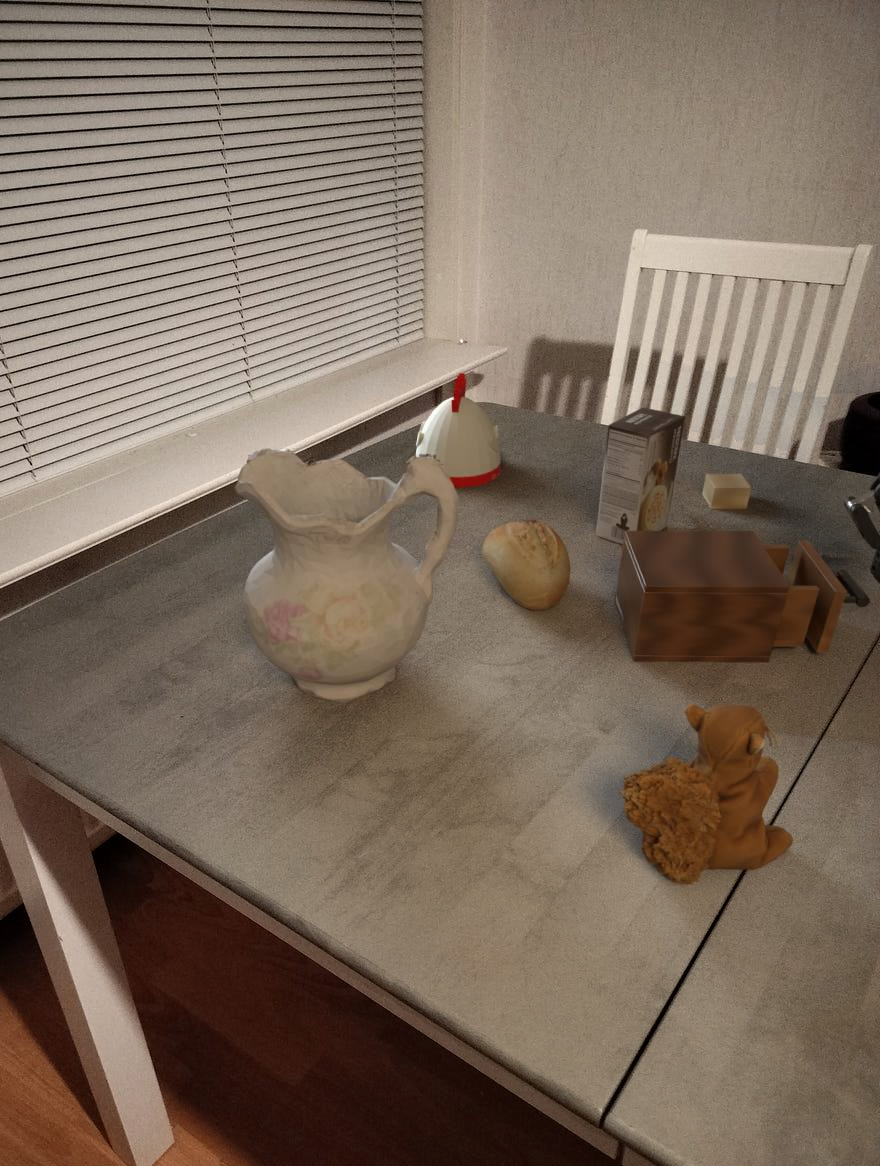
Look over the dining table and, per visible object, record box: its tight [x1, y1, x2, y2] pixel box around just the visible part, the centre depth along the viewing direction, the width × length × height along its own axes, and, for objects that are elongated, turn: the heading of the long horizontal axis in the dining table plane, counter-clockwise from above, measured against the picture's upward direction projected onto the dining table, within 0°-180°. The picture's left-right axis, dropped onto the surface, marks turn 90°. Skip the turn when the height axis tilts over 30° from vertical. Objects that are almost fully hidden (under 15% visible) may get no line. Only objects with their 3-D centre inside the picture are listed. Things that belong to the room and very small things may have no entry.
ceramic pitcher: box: [234, 447, 459, 704], centre depth 87 cm, size 22×20×25 cm
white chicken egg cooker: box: [415, 372, 502, 488], centre depth 134 cm, size 14×14×15 cm
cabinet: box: [614, 530, 790, 663], centre depth 95 cm, size 15×13×10 cm
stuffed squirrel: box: [618, 703, 794, 886], centre depth 68 cm, size 10×14×13 cm
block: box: [701, 473, 752, 510], centre depth 122 cm, size 5×5×5 cm
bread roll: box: [481, 518, 571, 611], centre depth 105 cm, size 10×15×8 cm, turn 18°
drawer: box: [762, 539, 871, 654], centre depth 95 cm, size 18×11×8 cm, turn 87°
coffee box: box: [595, 407, 686, 545], centre depth 114 cm, size 9×6×16 cm
